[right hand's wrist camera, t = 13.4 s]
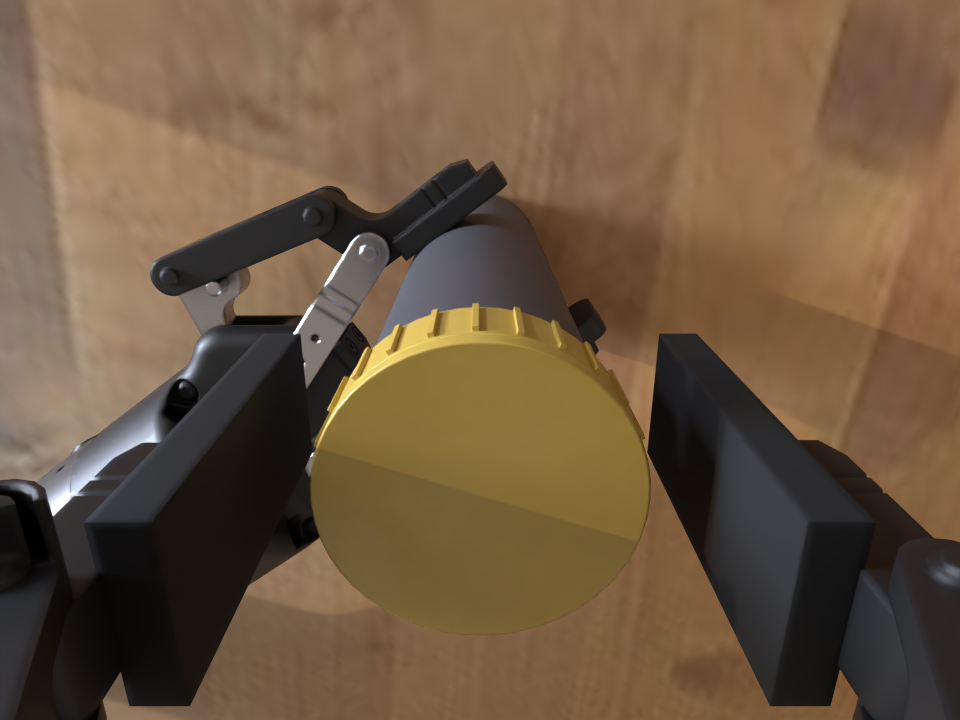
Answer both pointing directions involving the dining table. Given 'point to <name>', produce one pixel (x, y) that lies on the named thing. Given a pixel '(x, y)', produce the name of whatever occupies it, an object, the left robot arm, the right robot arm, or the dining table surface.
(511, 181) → the dining table surface
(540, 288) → the bottle
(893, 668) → the right robot arm
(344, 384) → the lid
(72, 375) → the dining table surface
